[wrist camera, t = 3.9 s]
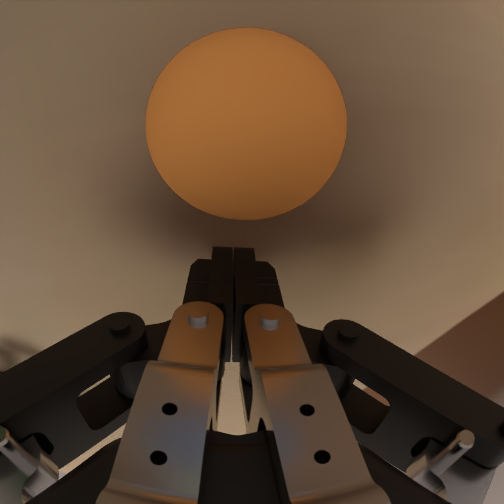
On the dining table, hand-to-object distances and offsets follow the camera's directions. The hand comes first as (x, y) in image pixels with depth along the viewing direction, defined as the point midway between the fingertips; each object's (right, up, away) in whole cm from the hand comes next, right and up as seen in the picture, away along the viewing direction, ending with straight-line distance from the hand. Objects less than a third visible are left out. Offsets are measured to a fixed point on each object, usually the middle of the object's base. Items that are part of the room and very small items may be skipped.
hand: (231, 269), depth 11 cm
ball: (+1, +4, -4) cm, 6 cm away
